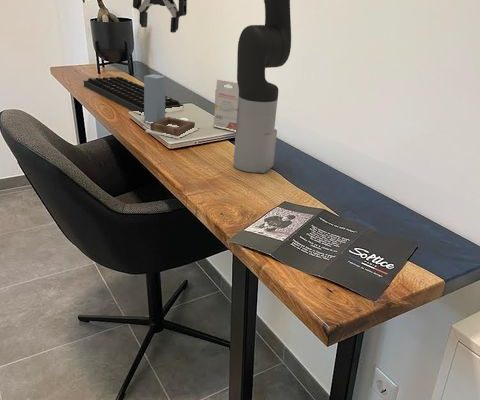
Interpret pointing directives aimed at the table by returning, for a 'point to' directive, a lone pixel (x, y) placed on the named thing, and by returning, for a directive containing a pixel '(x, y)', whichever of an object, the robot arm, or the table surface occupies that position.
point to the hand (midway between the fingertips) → (158, 29)
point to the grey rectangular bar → (154, 97)
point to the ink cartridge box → (226, 104)
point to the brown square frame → (176, 131)
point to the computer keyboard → (124, 92)
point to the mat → (160, 133)
